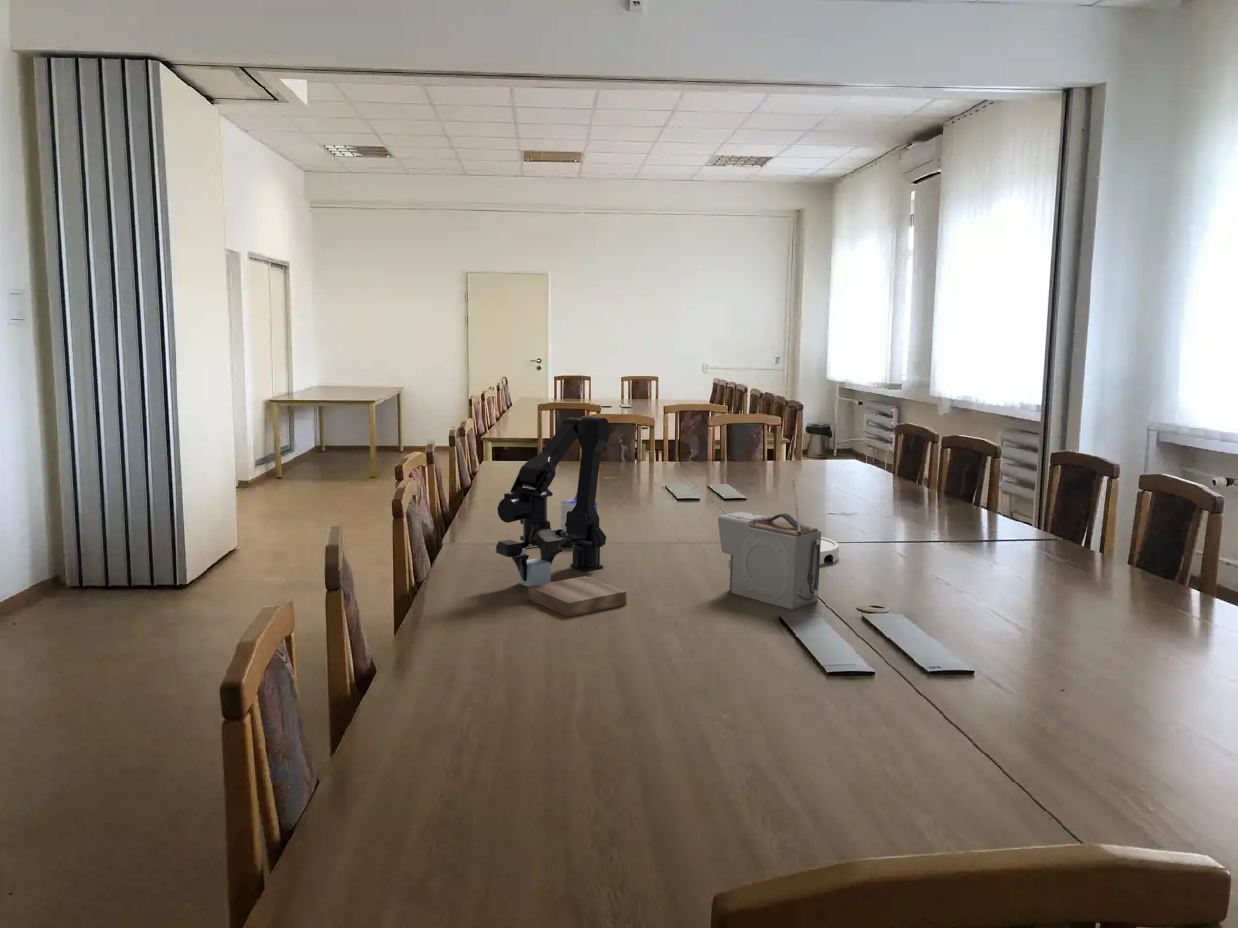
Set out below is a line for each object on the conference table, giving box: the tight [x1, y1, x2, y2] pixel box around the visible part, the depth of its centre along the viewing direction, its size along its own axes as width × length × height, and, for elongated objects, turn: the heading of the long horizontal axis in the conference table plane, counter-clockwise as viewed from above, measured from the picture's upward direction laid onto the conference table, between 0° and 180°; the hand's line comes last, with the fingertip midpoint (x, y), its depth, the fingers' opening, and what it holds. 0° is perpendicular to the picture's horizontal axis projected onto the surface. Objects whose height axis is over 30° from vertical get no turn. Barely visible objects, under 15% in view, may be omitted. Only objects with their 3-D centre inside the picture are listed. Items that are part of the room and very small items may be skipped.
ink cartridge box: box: [559, 492, 598, 535], centre depth 266 cm, size 10×6×14 cm, turn 59°
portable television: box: [717, 478, 822, 610], centre depth 213 cm, size 12×24×30 cm, turn 45°
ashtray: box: [820, 536, 840, 566], centre depth 256 cm, size 23×23×4 cm
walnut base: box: [528, 575, 627, 617], centre depth 207 cm, size 16×16×3 cm
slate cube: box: [518, 557, 552, 588], centre depth 221 cm, size 6×6×6 cm
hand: (534, 578), depth 221 cm, fingers closed on slate cube, 5 cm apart
